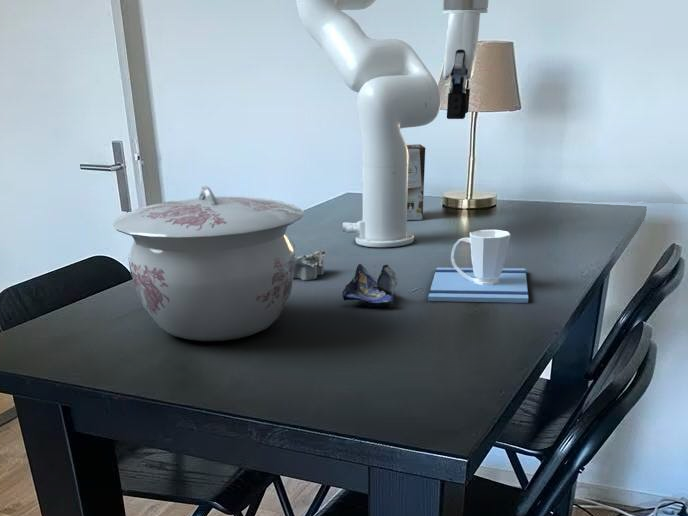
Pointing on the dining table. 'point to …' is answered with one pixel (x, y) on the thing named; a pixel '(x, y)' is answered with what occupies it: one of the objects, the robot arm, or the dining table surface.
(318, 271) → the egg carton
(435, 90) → the robot arm
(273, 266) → the chamber pot
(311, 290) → the dining table surface
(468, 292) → the towel
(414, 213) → the coffee box
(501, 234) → the cup
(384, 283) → the snack package
